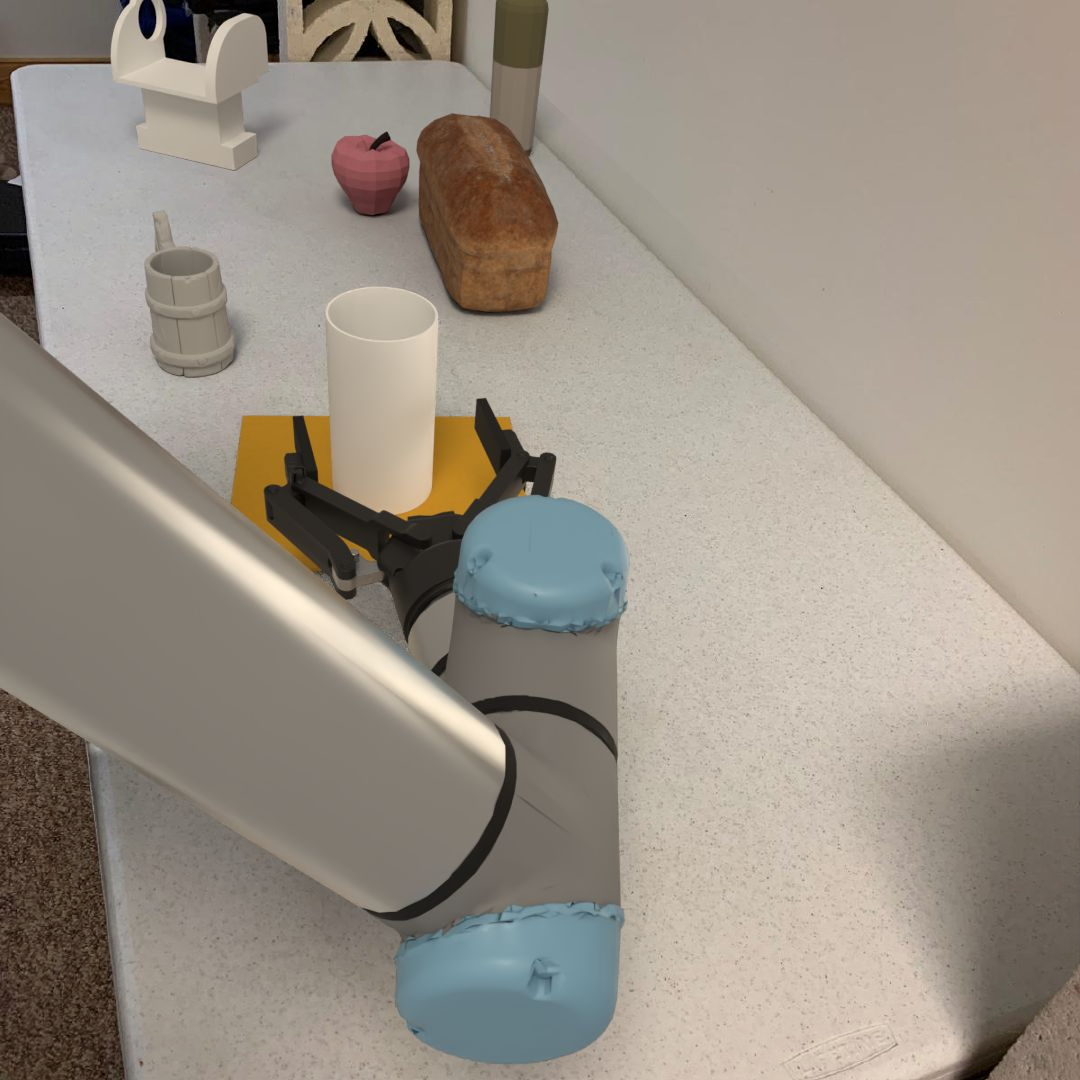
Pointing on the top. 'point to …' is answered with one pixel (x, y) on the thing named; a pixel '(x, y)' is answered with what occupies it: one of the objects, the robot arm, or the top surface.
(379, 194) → the apple
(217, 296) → the mug
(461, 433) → the cloth
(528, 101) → the bottle
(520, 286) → the bread
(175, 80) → the white holder stand
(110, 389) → the top surface
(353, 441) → the cup
